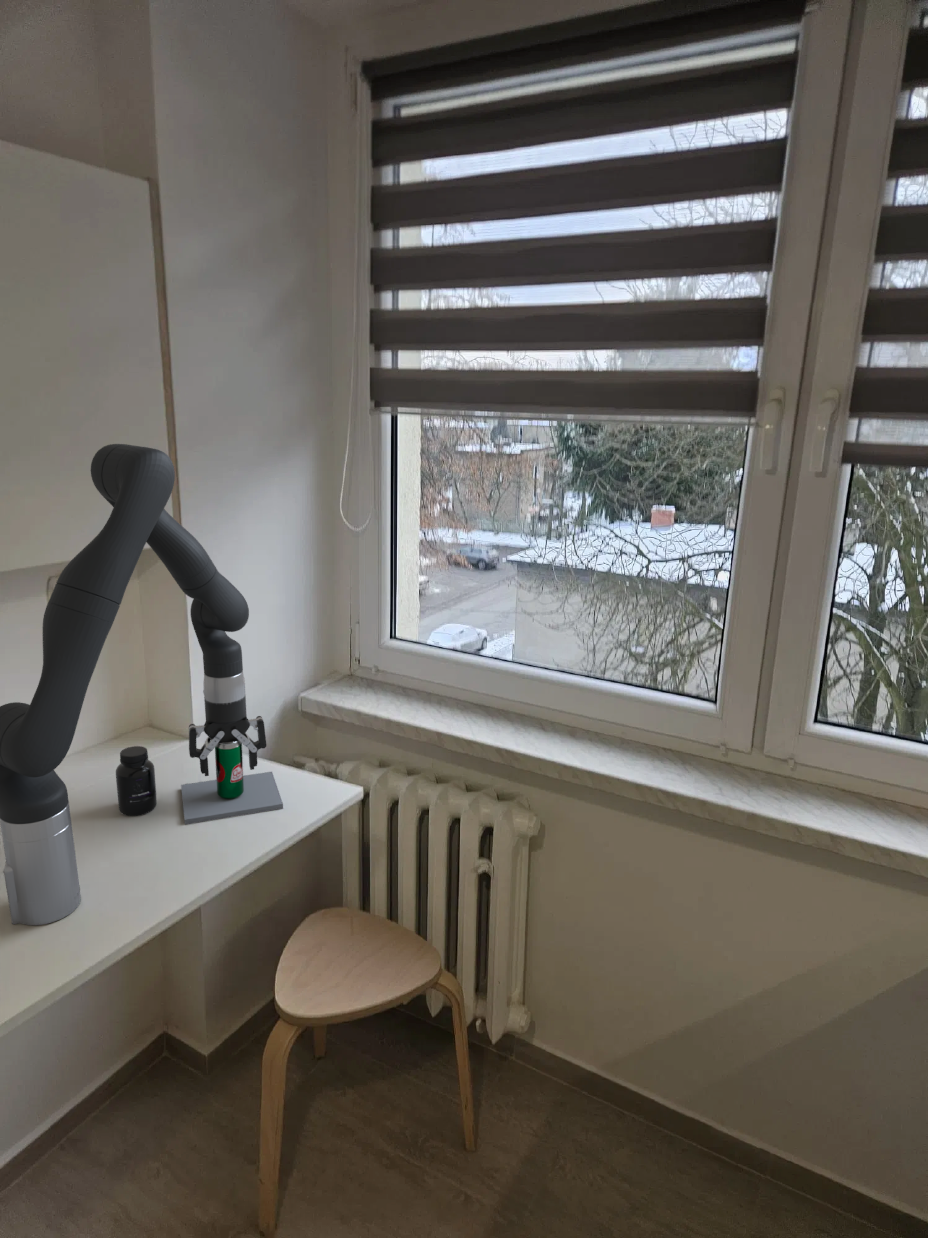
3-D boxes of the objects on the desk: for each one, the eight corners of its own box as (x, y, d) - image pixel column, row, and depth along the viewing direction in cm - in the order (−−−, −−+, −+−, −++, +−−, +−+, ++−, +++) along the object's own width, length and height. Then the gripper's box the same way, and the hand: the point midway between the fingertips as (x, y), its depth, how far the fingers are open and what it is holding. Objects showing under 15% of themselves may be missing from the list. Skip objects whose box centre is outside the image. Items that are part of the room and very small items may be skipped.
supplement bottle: (140, 820, 146) (134, 762, 143) (111, 813, 148) (104, 755, 145) (165, 803, 152) (160, 747, 149) (136, 796, 154) (131, 741, 151)
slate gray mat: (185, 824, 145) (184, 819, 145) (181, 789, 158) (181, 784, 157) (283, 808, 152) (282, 803, 151) (272, 775, 164) (272, 771, 164)
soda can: (236, 802, 151) (234, 746, 148) (212, 798, 152) (209, 742, 149) (248, 789, 156) (246, 735, 153) (224, 786, 157) (222, 731, 153)
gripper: (186, 705, 142) (192, 785, 147) (266, 697, 147) (269, 774, 152) (184, 691, 149) (190, 768, 154) (260, 683, 154) (264, 757, 159)
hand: (229, 771), depth 153 cm, fingers open, 8 cm apart
